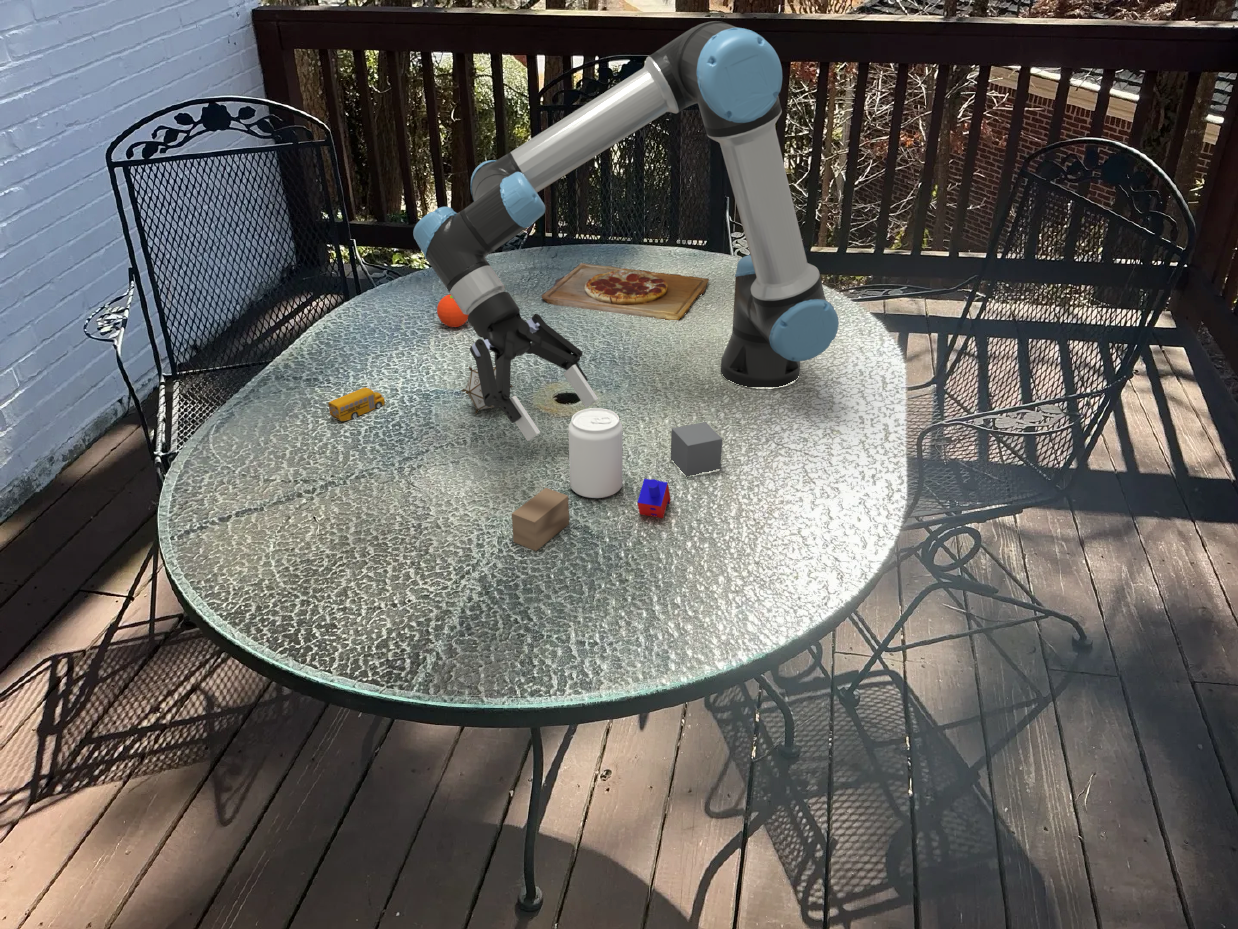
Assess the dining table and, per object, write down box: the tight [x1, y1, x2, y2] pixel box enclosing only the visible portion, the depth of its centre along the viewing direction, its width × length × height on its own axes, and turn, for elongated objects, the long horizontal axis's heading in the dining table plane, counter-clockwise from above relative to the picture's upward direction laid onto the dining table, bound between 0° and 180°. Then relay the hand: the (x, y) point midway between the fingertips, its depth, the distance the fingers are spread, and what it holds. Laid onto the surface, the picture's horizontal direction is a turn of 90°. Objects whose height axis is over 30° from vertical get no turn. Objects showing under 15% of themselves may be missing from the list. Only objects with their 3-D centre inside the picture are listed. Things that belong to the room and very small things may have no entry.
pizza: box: [540, 262, 710, 321], centre depth 217 cm, size 35×28×4 cm
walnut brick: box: [511, 487, 570, 552], centre depth 134 cm, size 8×4×5 cm, turn 147°
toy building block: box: [636, 478, 671, 519], centre depth 138 cm, size 4×4×8 cm
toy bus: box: [328, 387, 386, 422], centre depth 166 cm, size 3×10×4 cm, turn 140°
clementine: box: [436, 293, 468, 328], centre depth 198 cm, size 8×7×7 cm
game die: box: [460, 366, 514, 415], centre depth 166 cm, size 9×8×10 cm
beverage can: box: [567, 407, 624, 499], centre depth 142 cm, size 8×8×12 cm
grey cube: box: [670, 421, 723, 478], centre depth 150 cm, size 6×6×6 cm
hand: (564, 419), depth 142 cm, fingers open, 13 cm apart
